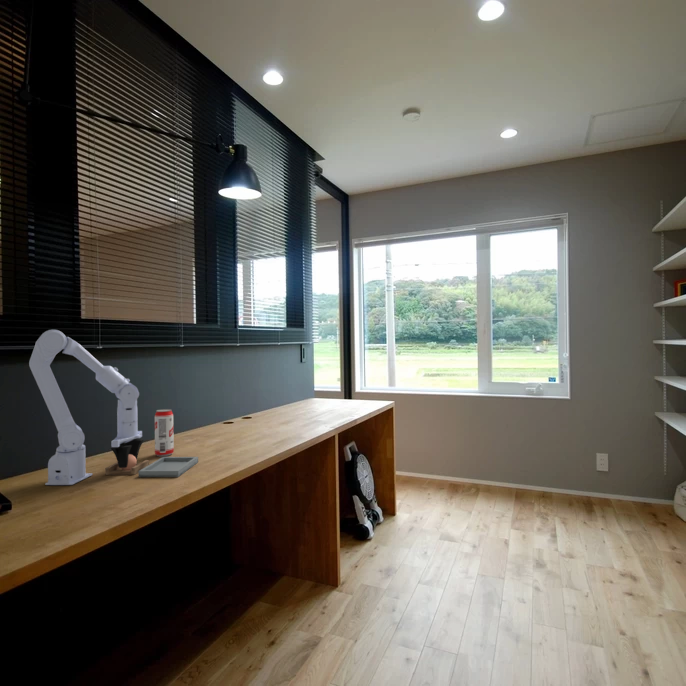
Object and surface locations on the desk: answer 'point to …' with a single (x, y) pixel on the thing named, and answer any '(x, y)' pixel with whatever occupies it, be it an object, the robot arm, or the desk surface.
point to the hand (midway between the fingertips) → (127, 464)
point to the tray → (168, 467)
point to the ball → (130, 462)
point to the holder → (134, 470)
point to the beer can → (164, 432)
